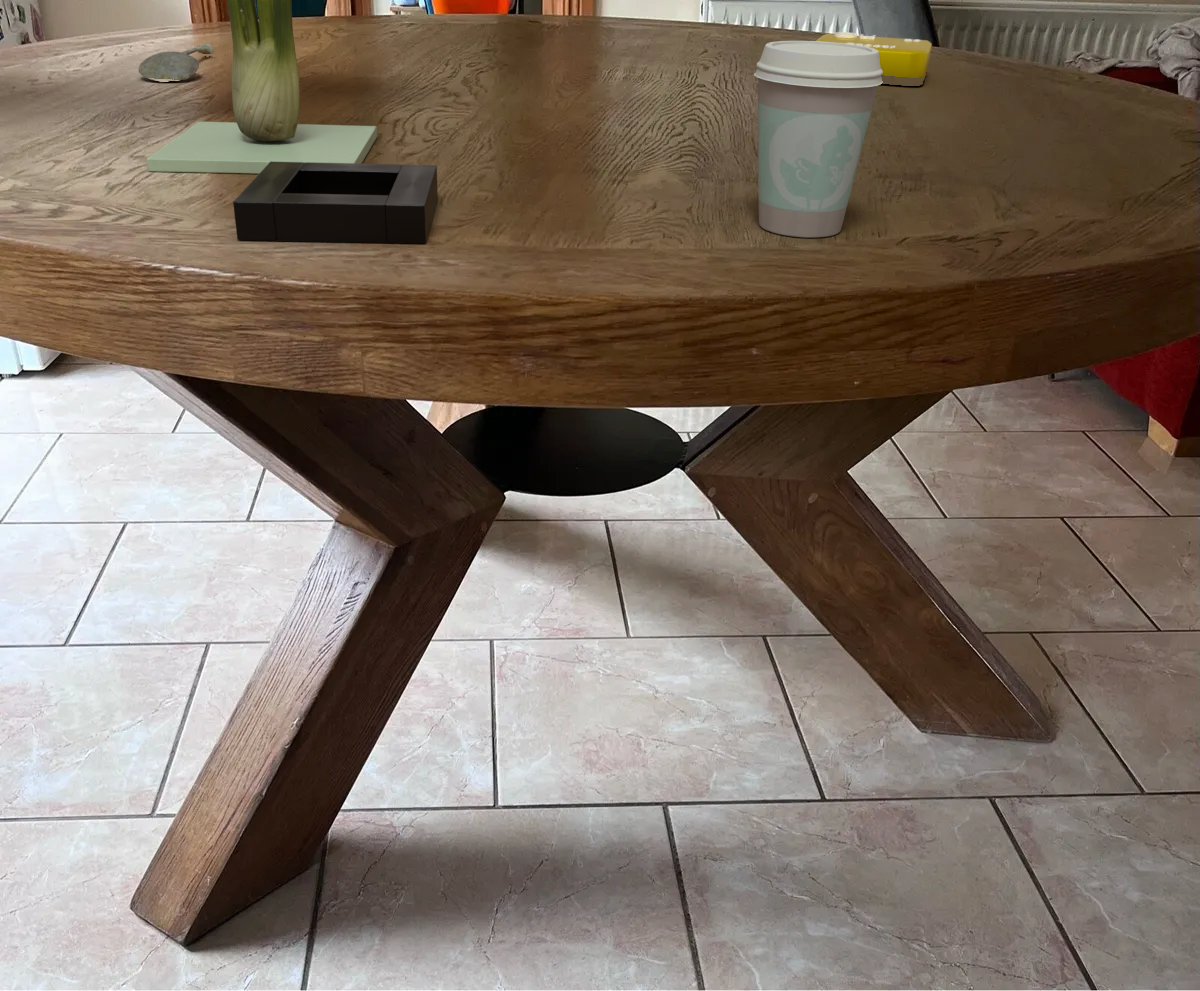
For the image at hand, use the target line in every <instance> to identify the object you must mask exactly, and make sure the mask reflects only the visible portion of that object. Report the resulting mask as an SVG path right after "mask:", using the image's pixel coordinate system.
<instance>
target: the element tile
mask: <svg viewBox="0 0 1200 991" xmlns="http://www.w3.org/2000/svg"><path fill="white" fill-rule="evenodd" d="M815 41H822V42H835V43H846V44H854V45H860V46H866V47H870V48H874V49H876V50H878V52H879V60H880V68H881V69H882V71H883V74H882V75H884V76H895V77H909V78H919V77H924V76H925V75H926V71H927V68H928V69H929V65H930V59H931V52H932V46H933V44H932V42H931V41H929V40H926V39H918V38H917V39H913V38H899V37H882V36H877V35H876V34H872V35H865V34H864V33H861V34H859V35H858V33H856V32H849V31H847V32H846V31H836V32H834V33H825V34H823V35H821V36H820V37H818V38H817V39H816V40H815ZM928 64H929V65H928ZM927 72H928V71H927ZM926 76H927V75H926Z"/></svg>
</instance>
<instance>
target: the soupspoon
mask: <svg viewBox="0 0 1200 991" xmlns="http://www.w3.org/2000/svg"><path fill="white" fill-rule="evenodd" d="M197 52H198V53H199V54H201V53H202V54H213V55H214V53H215V51H214V47H213V46H212V45H211V44H210V43H202V44H201V45H197V46H196V47H193V48H190V49H187V50H184V51H182V52H180V51H161V52H158V53H155V54H153V55H151V56H149V57H147V58H145V59H144V60H143V61H141V62H140V63H139V67H138V69H137V70H138V73H139V74H140V75H141V76H142V77H143V78H145V77H146V78H154V79H172V80H173V79H174V80H183V81H186V80H188V79H190V78H192V77H193V76H194V75H195V74H196V73H197V72H198V70H199V68H200V62H199V60H198V59H197V58H196V57H193V56H192V54H194V53H197ZM146 78H145V79H146Z"/></svg>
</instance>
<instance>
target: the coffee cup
mask: <svg viewBox="0 0 1200 991" xmlns="http://www.w3.org/2000/svg"><path fill="white" fill-rule="evenodd" d="M882 74H883V71H882V69H881V68H880V60H879V52H878V50H876V49H874V48H870V47H866V46H860V45H854V44H846V43H835V42H822V41H816V40H779V41H771V42H768V43H766V44H764V48H763V51H762V53H761V57H760V59H759V60H758V61H757V63H756V70H755V72H754V74H753V76H754V77H755V78H757V148H758V150H757V155H758V156H757V159H758V160H757V164H758V166H757V168H758V170H757V172H758V174H757V175H758V177H757V178H758V225H759V227H761V228H762V229H763V230H765V231H767V232H769V233H772V234H775V235H780V236H785V237H793V238H802V239H803V238H805V239H806V238H807V239H818V238H826V237H828V238H829V237H832V236H835V235H837V234H839V233H841V231H842V228H843V223H844V219H845V217H846V216H845V215H846V212H847V207H848V204H849V202H850V201H849V200H850V196H851V193H852V188H853V185H854V181H855V177H856V173H857V168H858V164H859V161H860V157H861V154H862V153H861V152H862V149H863V145H864V141H865V137H866V133H867V129H868V125H869V121H870V117H871V114H872V110H873V105H874V101H875V98H876V92H877V89H878V86H882V85H881V84H882V83H883V81H882V77H881V75H882Z"/></svg>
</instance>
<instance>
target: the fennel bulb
mask: <svg viewBox="0 0 1200 991" xmlns="http://www.w3.org/2000/svg"><path fill="white" fill-rule="evenodd" d="M226 3H227V10H228V15H229V23H230V30H231V40H232V65H231V95H232V96H231V101H232V112H233V116H234V120H235V123H237V125H238V127H239V129H240V131H241V132H242V133H243V134H244V135H246V136H247V137H249V138H252V139H257V140H261V141H279V140H284V139H290V138H293V137H294V136H295V132H296V128H297V125H298V124H299V119H300V118H299V117H300V104H301V101H300V100H301V99H300V98H301V90H300V72H299V65H298V58H297V53H296V44H295V37H294V26H293V12H292V11H293V10H292V8H293V7H292V0H226Z"/></svg>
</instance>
